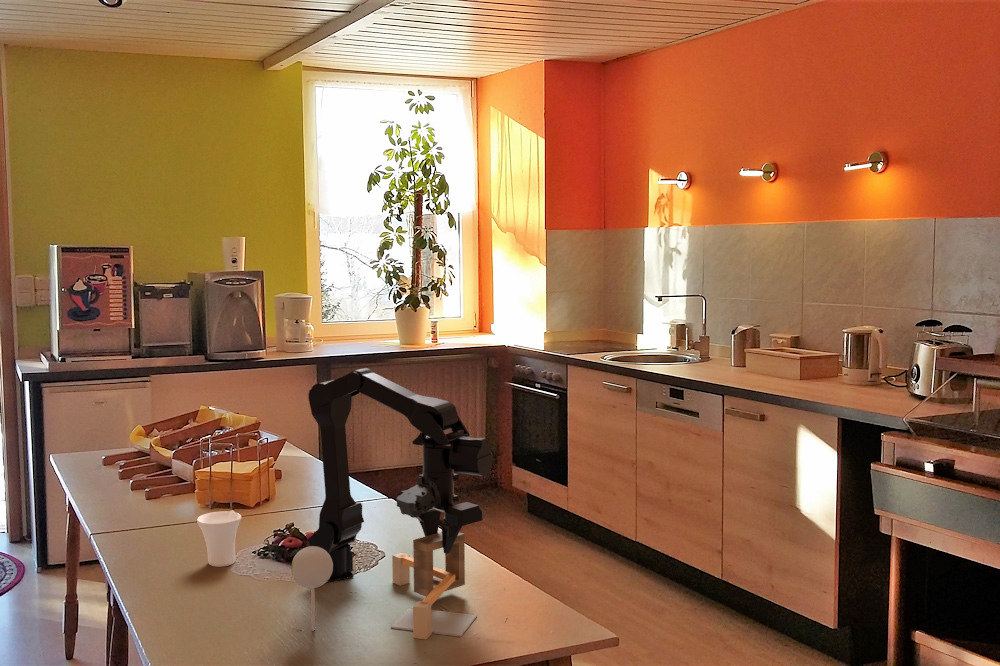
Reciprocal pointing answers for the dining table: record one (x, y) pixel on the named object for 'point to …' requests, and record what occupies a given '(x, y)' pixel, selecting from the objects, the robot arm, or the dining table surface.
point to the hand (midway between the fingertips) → (439, 550)
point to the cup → (220, 536)
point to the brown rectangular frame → (425, 562)
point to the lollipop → (312, 571)
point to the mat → (439, 622)
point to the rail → (423, 609)
